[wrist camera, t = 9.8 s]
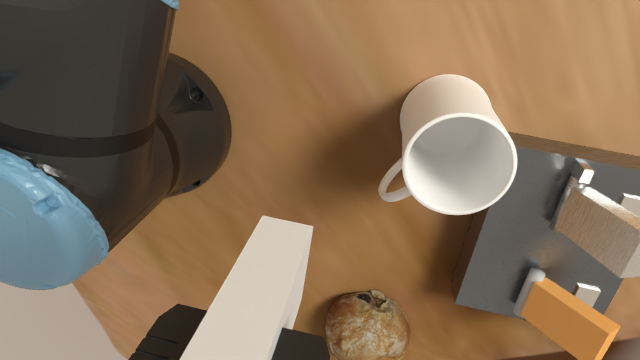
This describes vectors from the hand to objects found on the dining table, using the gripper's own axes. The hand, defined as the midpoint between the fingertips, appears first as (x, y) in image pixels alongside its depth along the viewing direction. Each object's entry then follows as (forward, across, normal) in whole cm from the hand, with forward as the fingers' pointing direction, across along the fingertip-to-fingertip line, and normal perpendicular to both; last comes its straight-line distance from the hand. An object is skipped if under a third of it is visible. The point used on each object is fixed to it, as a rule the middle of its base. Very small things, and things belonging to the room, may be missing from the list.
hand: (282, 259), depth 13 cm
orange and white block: (+27, +20, -18) cm, 38 cm away
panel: (+32, +21, -13) cm, 41 cm away
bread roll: (+33, +6, -31) cm, 45 cm away
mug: (+33, +7, -5) cm, 34 cm away
